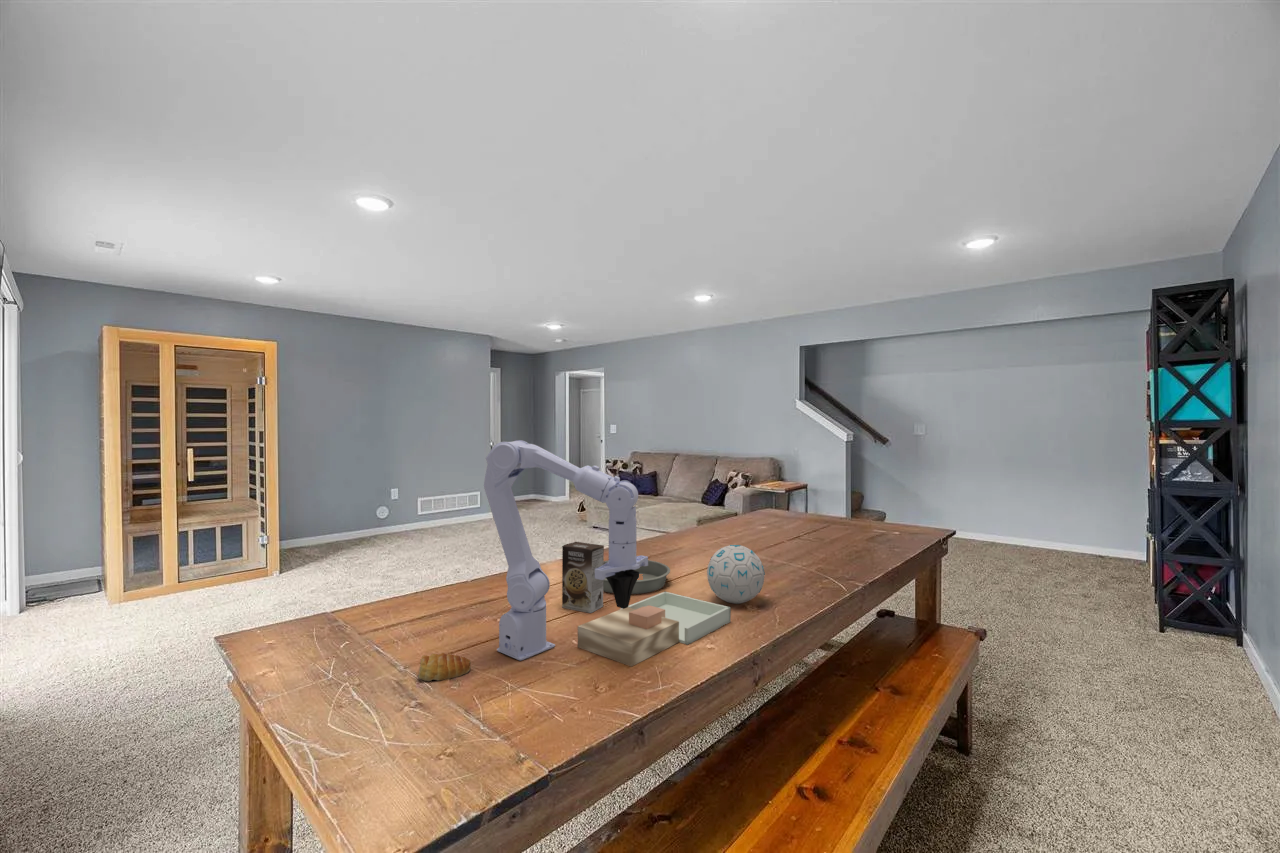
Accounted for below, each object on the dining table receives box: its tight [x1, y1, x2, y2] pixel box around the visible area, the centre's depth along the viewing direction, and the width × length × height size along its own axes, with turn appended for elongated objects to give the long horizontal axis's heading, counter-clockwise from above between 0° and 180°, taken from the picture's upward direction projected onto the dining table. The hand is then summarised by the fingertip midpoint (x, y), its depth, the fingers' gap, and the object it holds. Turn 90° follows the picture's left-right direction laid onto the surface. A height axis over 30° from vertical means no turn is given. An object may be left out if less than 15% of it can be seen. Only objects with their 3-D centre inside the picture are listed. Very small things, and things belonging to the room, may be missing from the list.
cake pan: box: [603, 559, 671, 595], centre depth 170 cm, size 25×25×4 cm
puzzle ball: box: [706, 544, 766, 605], centre depth 153 cm, size 15×15×15 cm
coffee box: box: [561, 541, 605, 614], centre depth 148 cm, size 9×6×16 cm
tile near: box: [629, 606, 662, 629], centre depth 124 cm, size 5×5×2 cm
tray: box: [618, 591, 732, 646], centre depth 137 cm, size 18×20×4 cm
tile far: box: [646, 605, 665, 618], centre depth 137 cm, size 5×5×2 cm
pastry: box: [417, 652, 472, 682], centre depth 110 cm, size 9×7×4 cm
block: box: [577, 607, 680, 668], centre depth 124 cm, size 16×15×4 cm
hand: (622, 607), depth 118 cm, fingers closed
